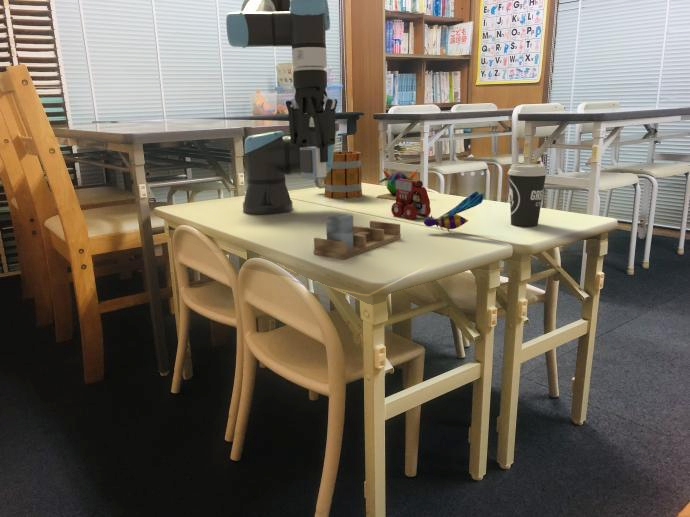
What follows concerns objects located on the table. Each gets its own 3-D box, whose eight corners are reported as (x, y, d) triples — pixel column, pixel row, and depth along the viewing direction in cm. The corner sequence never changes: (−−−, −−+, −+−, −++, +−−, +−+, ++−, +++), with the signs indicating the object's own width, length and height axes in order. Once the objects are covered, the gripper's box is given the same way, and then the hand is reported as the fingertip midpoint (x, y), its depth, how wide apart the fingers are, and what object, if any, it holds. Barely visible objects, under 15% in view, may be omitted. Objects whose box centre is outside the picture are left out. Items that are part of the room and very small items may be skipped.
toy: (421, 231, 135) (422, 190, 132) (476, 229, 136) (477, 189, 133) (428, 237, 128) (429, 195, 125) (485, 235, 129) (488, 193, 126)
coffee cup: (524, 230, 133) (528, 168, 129) (496, 223, 141) (499, 165, 137) (552, 226, 137) (557, 165, 133) (524, 219, 145) (527, 162, 141)
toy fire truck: (418, 222, 146) (418, 183, 143) (387, 215, 156) (387, 179, 153) (436, 218, 150) (437, 180, 147) (405, 212, 160) (405, 176, 157)
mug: (370, 195, 192) (369, 151, 188) (347, 200, 182) (346, 155, 178) (326, 191, 204) (324, 150, 200) (302, 196, 193) (300, 153, 189)
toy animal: (389, 194, 194) (389, 167, 192) (424, 198, 184) (424, 169, 182) (368, 198, 186) (368, 170, 184) (403, 202, 176) (403, 172, 174)
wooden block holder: (313, 254, 116) (312, 216, 114) (372, 234, 133) (371, 201, 131) (344, 259, 111) (343, 220, 109) (400, 238, 128) (400, 204, 126)
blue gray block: (325, 177, 127) (324, 146, 125) (312, 179, 124) (311, 148, 122) (312, 176, 130) (311, 146, 128) (299, 178, 126) (298, 147, 124)
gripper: (270, 71, 123) (275, 176, 129) (329, 66, 113) (332, 180, 119) (292, 72, 128) (297, 172, 135) (350, 68, 118) (352, 176, 125)
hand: (313, 176), depth 127 cm, fingers closed on blue gray block, 4 cm apart
